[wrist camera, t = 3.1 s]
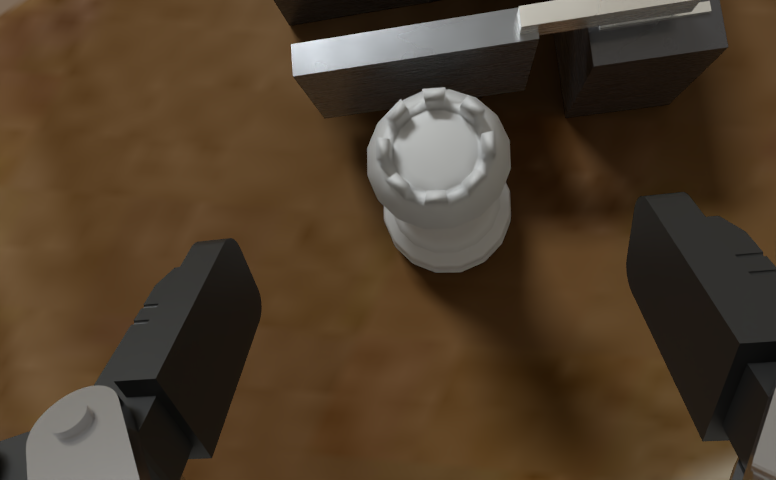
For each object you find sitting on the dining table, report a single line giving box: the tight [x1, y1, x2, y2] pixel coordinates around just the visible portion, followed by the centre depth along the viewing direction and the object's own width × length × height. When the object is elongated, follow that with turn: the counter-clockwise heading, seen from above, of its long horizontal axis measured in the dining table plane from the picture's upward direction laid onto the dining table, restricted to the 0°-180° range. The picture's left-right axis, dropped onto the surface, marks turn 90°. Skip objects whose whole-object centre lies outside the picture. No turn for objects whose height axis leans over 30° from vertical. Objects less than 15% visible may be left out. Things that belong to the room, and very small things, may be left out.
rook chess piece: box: [367, 87, 511, 273], centre depth 14 cm, size 4×4×8 cm
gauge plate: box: [291, 0, 700, 118], centre depth 15 cm, size 11×1×4 cm, turn 95°
